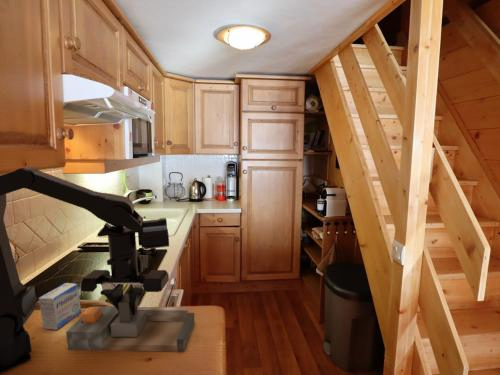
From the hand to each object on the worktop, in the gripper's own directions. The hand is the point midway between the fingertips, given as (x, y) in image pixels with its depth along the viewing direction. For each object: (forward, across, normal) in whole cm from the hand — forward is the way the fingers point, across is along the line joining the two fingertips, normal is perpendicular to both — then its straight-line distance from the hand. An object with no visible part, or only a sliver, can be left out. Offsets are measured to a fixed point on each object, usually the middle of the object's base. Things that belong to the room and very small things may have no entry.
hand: (128, 313), depth 67 cm
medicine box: (+6, +21, -6) cm, 23 cm away
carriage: (+4, 0, 0) cm, 4 cm away
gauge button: (+3, +9, 0) cm, 9 cm away
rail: (+6, -1, 0) cm, 6 cm away
